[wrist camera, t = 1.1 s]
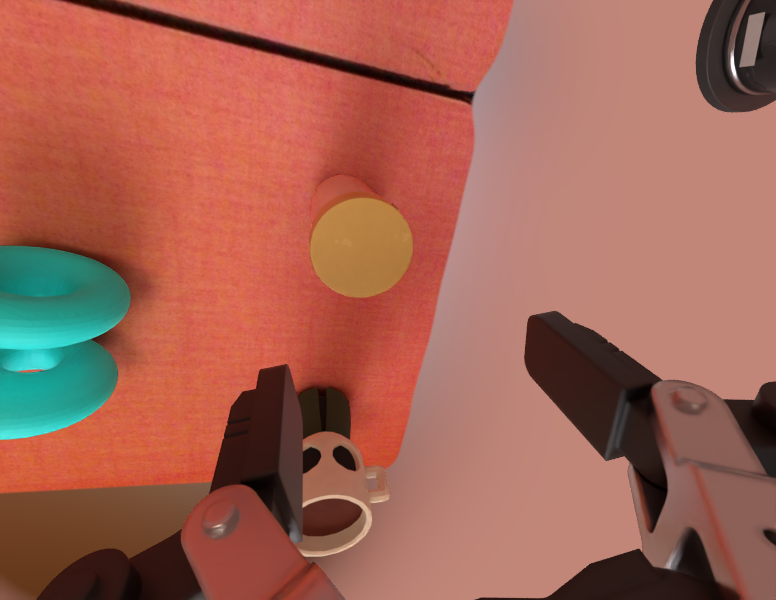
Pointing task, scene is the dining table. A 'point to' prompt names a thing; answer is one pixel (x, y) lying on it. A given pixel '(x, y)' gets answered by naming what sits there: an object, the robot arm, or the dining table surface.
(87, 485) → the dining table surface
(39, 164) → the dining table surface
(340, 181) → the jar
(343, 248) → the lid
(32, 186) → the dining table surface
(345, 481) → the character mug
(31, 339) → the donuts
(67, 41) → the dining table surface
